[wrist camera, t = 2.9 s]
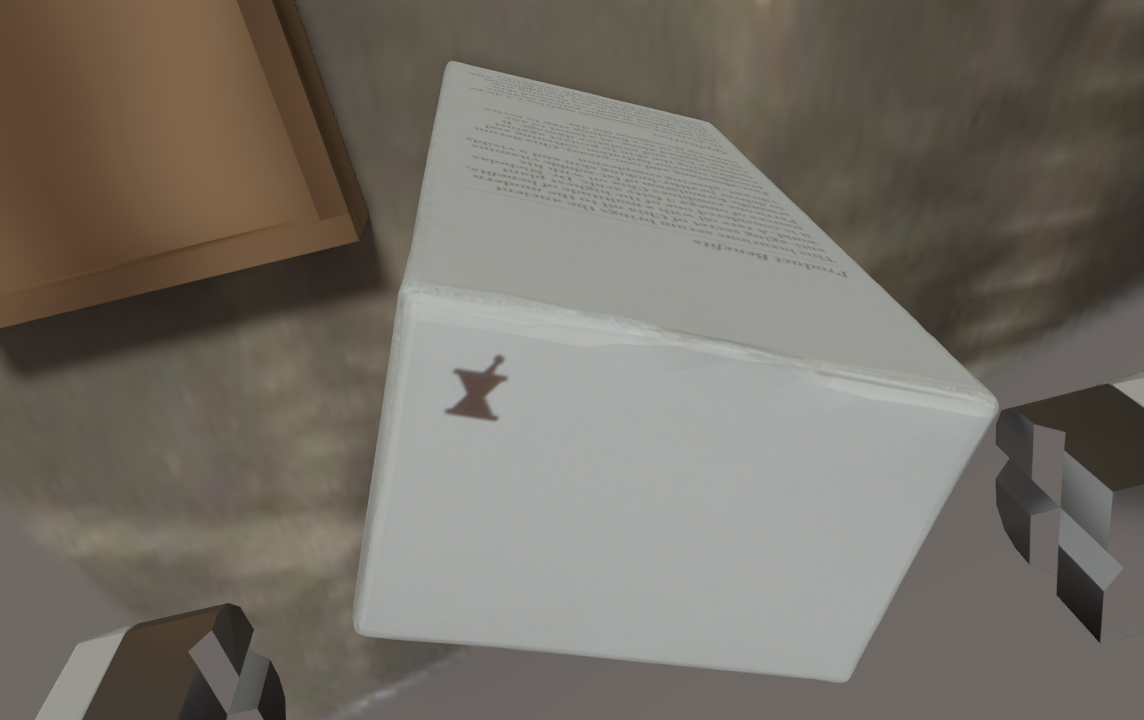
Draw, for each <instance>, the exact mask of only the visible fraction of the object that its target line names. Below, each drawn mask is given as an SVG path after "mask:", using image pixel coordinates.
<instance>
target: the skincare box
mask: <svg viewBox="0 0 1144 720" xmlns="http://www.w3.org/2000/svg"><path fill="white" fill-rule="evenodd" d="M998 411H999V405H998V401H997V399H996V397H995V396H994V395H993V394H992V393H991V392H990V391H989V390H988V389H987V388H986V387H985V386H984V385H983V384H982V383H981V382H980V381H979V380H978V379H977V378H975V377H974V376H973V375H972V374H971V373H970V372H969V371H968V370H967V369H966V368H965V367H964V366H963V365H961V364H960V363H959V362H958V361H957V360H956V359H955V358H954V357H953V356H952V355H951V354H949V353H948V351H947V350H946V349H945V348H944V347H943V346H942V345H941V344H940V343H939V342H938V341H937V340H936V339H935V338H934V337H933V336H931V335H930V334H929V333H928V332H927V331H926V330H925V329H924V328H923V327H922V326H921V325H920V324H919V323H918V322H917V321H916V320H915V319H914V318H913V317H912V316H911V315H910V314H909V313H908V312H907V311H906V310H905V309H904V308H903V307H901V306H900V305H899V304H898V303H897V302H896V301H895V300H894V299H893V298H892V297H891V296H890V295H889V294H888V293H887V292H886V291H885V290H884V289H883V288H882V287H881V286H880V285H879V284H878V283H877V282H875V281H874V280H873V279H872V278H871V277H870V276H869V275H868V274H867V273H866V272H865V271H864V270H863V269H862V268H861V267H860V266H859V265H858V264H857V263H856V262H855V261H854V260H852V259H851V258H850V257H849V256H848V255H847V254H846V253H845V252H844V251H843V250H842V249H841V248H840V247H839V246H838V245H837V244H836V243H835V242H834V241H833V240H832V239H831V238H830V237H829V236H828V235H827V234H826V233H825V232H824V231H822V230H821V229H820V228H819V227H818V226H817V225H816V224H815V223H814V222H813V221H812V220H811V219H810V218H809V217H808V216H807V215H806V214H805V213H804V212H803V211H802V210H801V209H800V208H798V207H797V206H796V205H795V204H794V203H793V202H792V201H791V200H790V199H789V198H788V197H787V196H786V195H785V194H784V193H783V192H782V191H781V190H780V189H779V188H778V187H777V186H776V185H775V184H773V183H772V182H771V181H770V180H769V179H768V178H767V177H766V176H765V175H764V174H763V173H762V172H761V171H760V170H759V169H758V168H757V167H756V166H755V165H753V164H752V163H751V162H750V161H749V160H748V159H747V158H746V157H745V156H744V155H743V154H742V153H741V152H740V151H739V150H738V149H737V148H736V147H735V146H734V145H733V144H732V143H731V142H730V141H729V140H728V139H727V138H726V137H725V136H724V135H723V134H722V133H721V132H720V131H719V130H718V129H716V128H715V127H714V126H713V125H712V124H711V123H709V122H705V121H701V120H697V119H693V118H689V117H685V116H681V115H677V114H672V113H668V112H664V111H660V110H656V109H652V108H648V107H643V106H639V105H635V104H631V103H627V102H622V101H618V100H613V99H610V98H606V97H602V96H598V95H594V94H590V93H585V92H581V91H577V90H573V89H568V88H564V87H560V86H556V85H552V84H548V83H544V82H539V81H535V80H531V79H526V78H522V77H518V76H513V75H509V74H505V73H501V72H497V71H492V70H488V69H484V68H480V67H475V66H471V65H467V64H463V63H460V62H455V61H450V62H448V64H447V66H446V68H445V71H444V76H443V81H442V86H441V91H440V96H439V102H438V107H437V112H436V117H435V122H434V127H433V132H432V137H431V142H430V147H429V152H428V157H427V163H426V168H425V173H424V178H423V184H422V189H421V194H420V199H419V205H418V211H417V217H416V222H415V228H414V234H413V240H412V246H411V250H410V254H409V257H408V261H407V265H406V269H405V273H404V277H403V281H402V285H401V288H400V290H399V293H398V300H397V308H396V315H395V322H394V330H393V337H392V344H391V352H390V358H389V365H388V372H387V379H386V386H385V392H384V399H383V406H382V413H381V420H380V426H379V433H378V440H377V447H376V454H375V460H374V467H373V474H372V481H371V488H370V494H369V501H368V508H367V515H366V521H365V528H364V535H363V542H362V548H361V555H360V562H359V569H358V576H357V583H356V590H355V597H354V606H353V624H354V629H355V631H356V632H357V633H358V634H360V635H363V636H366V637H376V638H386V639H397V640H410V641H423V642H436V643H448V644H459V645H469V646H480V647H490V648H501V649H514V650H525V651H535V652H545V653H554V654H563V655H573V656H583V657H593V658H602V659H611V660H621V661H631V662H640V663H651V664H661V665H672V666H682V667H693V668H704V669H715V670H726V671H735V672H744V673H753V674H763V675H772V676H783V677H793V678H805V679H813V680H822V681H828V682H834V683H844V682H847V681H848V680H849V679H850V677H851V676H852V673H853V672H854V670H855V668H856V666H857V663H858V661H859V660H860V658H861V656H862V654H863V652H864V650H865V648H866V647H867V645H868V643H869V641H870V639H871V637H872V636H873V633H874V632H875V630H876V628H877V626H878V625H879V623H880V621H881V619H882V617H883V615H884V613H885V612H886V610H887V608H888V606H889V604H890V602H891V600H892V598H893V596H894V595H895V593H896V590H897V589H898V587H899V585H900V583H901V582H902V580H903V578H904V576H905V574H906V572H907V571H908V569H909V567H910V565H911V563H912V561H913V560H914V558H915V556H916V554H917V552H918V551H919V549H920V547H921V545H922V543H923V542H924V540H925V538H926V536H927V534H928V533H929V531H930V529H931V527H932V526H933V524H934V522H935V520H936V519H937V517H938V515H939V513H940V512H941V510H942V508H943V506H944V505H945V503H946V501H947V499H948V497H949V496H950V494H951V492H952V491H953V489H954V487H955V485H956V484H957V482H958V480H959V478H960V477H961V475H962V473H963V472H964V470H965V468H966V466H967V465H968V463H969V461H970V460H971V458H972V456H973V454H974V452H975V451H976V449H977V448H978V446H979V444H980V443H981V441H982V439H983V438H984V436H985V435H986V433H987V431H988V430H989V428H990V426H991V425H992V423H993V421H994V420H995V418H996V416H997V414H998Z"/></svg>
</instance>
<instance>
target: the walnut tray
mask: <svg viewBox="0 0 1144 720" xmlns="http://www.w3.org/2000/svg"><path fill="white" fill-rule="evenodd" d="M368 217H369V213H368V210H367V208H366V205H365V202H364V199H363V196H362V193H361V190H360V188H359V185H358V182H357V179H356V176H355V173H354V170H353V168H352V165H351V162H350V159H349V156H348V153H347V150H346V148H345V145H344V142H343V139H342V136H341V133H340V131H339V128H338V125H337V122H336V119H335V116H334V113H333V111H332V108H331V105H330V102H329V99H328V96H327V93H326V91H325V88H324V85H323V82H322V79H321V76H320V73H319V71H318V68H317V65H316V62H315V59H314V56H313V54H312V51H311V48H310V45H309V42H308V39H307V36H306V34H305V31H304V28H303V25H302V22H301V19H300V16H299V14H298V11H297V8H296V5H295V2H294V0H0V328H4V327H8V326H12V325H16V324H20V323H24V322H28V321H32V320H36V319H41V318H45V317H49V316H53V315H57V314H61V313H65V312H69V311H73V310H78V309H82V308H86V307H90V306H94V305H98V304H102V303H106V302H110V301H115V300H119V299H123V298H127V297H131V296H135V295H139V294H143V293H147V292H152V291H156V290H160V289H164V288H168V287H172V286H176V285H180V284H184V283H189V282H193V281H197V280H201V279H205V278H209V277H213V276H217V275H221V274H226V273H230V272H234V271H238V270H242V269H246V268H250V267H254V266H258V265H262V264H267V263H271V262H275V261H279V260H283V259H287V258H291V257H295V256H299V255H304V254H308V253H312V252H316V251H320V250H324V249H328V248H332V247H336V246H341V245H345V244H349V243H353V242H357V241H359V240H360V237H361V235H362V232H363V229H364V227H365V224H366V222H367V219H368Z"/></svg>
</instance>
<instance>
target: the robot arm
mask: <svg viewBox="0 0 1144 720" xmlns="http://www.w3.org/2000/svg"><path fill="white" fill-rule="evenodd" d="M996 445H997V446H998V447H999V448H1000V449H1001V450H1002V451H1003V452H1004V453H1005V454H1006V455H1007V456H1008V457H1009V458H1010V459H1009V460H1008V462H1007V463H1006V465H1005V466H1004V467H1003V469H1002V471H1001V472H1000V473H999V475H998V476H997V478H996V502H997V503H996V504H997V508H998V511H999V514H1000V517H1001V520H1002V524H1003V527H1004V530H1005V532H1006V533H1007V535H1008V536H1009V538H1010V540H1011V542H1012V543H1013V545H1014V547H1015V548H1016V549H1017V551H1018V552H1019V553H1020V554H1021V555H1022V556H1023V558H1024V559H1025V560H1026V561H1027V562H1028V563H1029V564H1030V565H1032V566H1034V567H1037V568H1039V569H1042V570H1044V571H1047V572H1049V573H1052V574H1054V575H1057V596H1058V597H1059V598H1060V599H1061V601H1062V602H1063V603H1064V604H1065V605H1066V606H1067V607H1068V608H1069V609H1070V610H1071V612H1072V613H1073V614H1074V615H1075V616H1076V617H1077V618H1078V619H1079V621H1080V622H1081V623H1082V624H1083V625H1084V626H1085V627H1086V628H1087V629H1088V630H1089V631H1090V633H1091V634H1092V635H1093V636H1094V637H1095V638H1096V639H1097V640H1098V642H1099V643H1104V642H1108V641H1113V640H1117V639H1122V638H1127V637H1131V636H1136V635H1140V634H1144V371H1143V372H1140V373H1136V374H1132V375H1128V376H1125V377H1121V378H1118V379H1114V380H1110V381H1107V382H1103V383H1100V384H1097V385H1096V386H1095V387H1091V388H1087V389H1084V390H1079V391H1075V392H1071V393H1067V394H1064V395H1060V396H1056V397H1052V398H1048V399H1044V400H1040V401H1036V402H1032V403H1028V404H1024V405H1020V406H1016V407H1013V408H1009V409H1005V410H1002V411H1001V413H1000V416H999V418H998V421H997V423H996ZM253 631H254V629H253V627H252V626H251V624H250V622H249V621H248V619H247V617H246V616H245V614H244V612H243V611H242V609H241V607H239V606H236V605H233V604H230V603H226V604H222V605H217V606H213V607H209V608H204V609H200V610H195V611H191V612H187V613H182V614H178V615H173V616H169V617H164V618H160V619H156V620H151V621H147V622H142V623H138V624H137V625H134V626H127V627H122V628H118V629H114V630H110V631H106V632H102V633H98V634H94V635H91V636H89V637H88V638H86V639H85V640H83V641H81V642H80V643H78V644H77V646H76V648H75V650H74V651H73V653H72V655H71V657H70V659H69V660H68V662H67V664H66V666H65V667H64V669H63V671H62V673H61V675H60V676H59V678H58V680H57V682H56V683H55V685H54V687H53V689H52V690H51V692H50V694H49V696H48V698H47V699H46V701H45V703H44V705H43V706H42V708H41V710H40V712H39V714H38V715H37V717H36V719H35V720H286V707H285V696H284V692H283V689H282V685H281V682H280V678H279V676H278V674H277V672H276V670H275V668H274V666H273V664H272V662H271V660H269V659H267V658H265V657H263V656H261V655H260V654H258V653H256V652H254V651H252V650H250V649H248V648H249V644H250V641H251V638H252V634H253Z"/></svg>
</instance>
